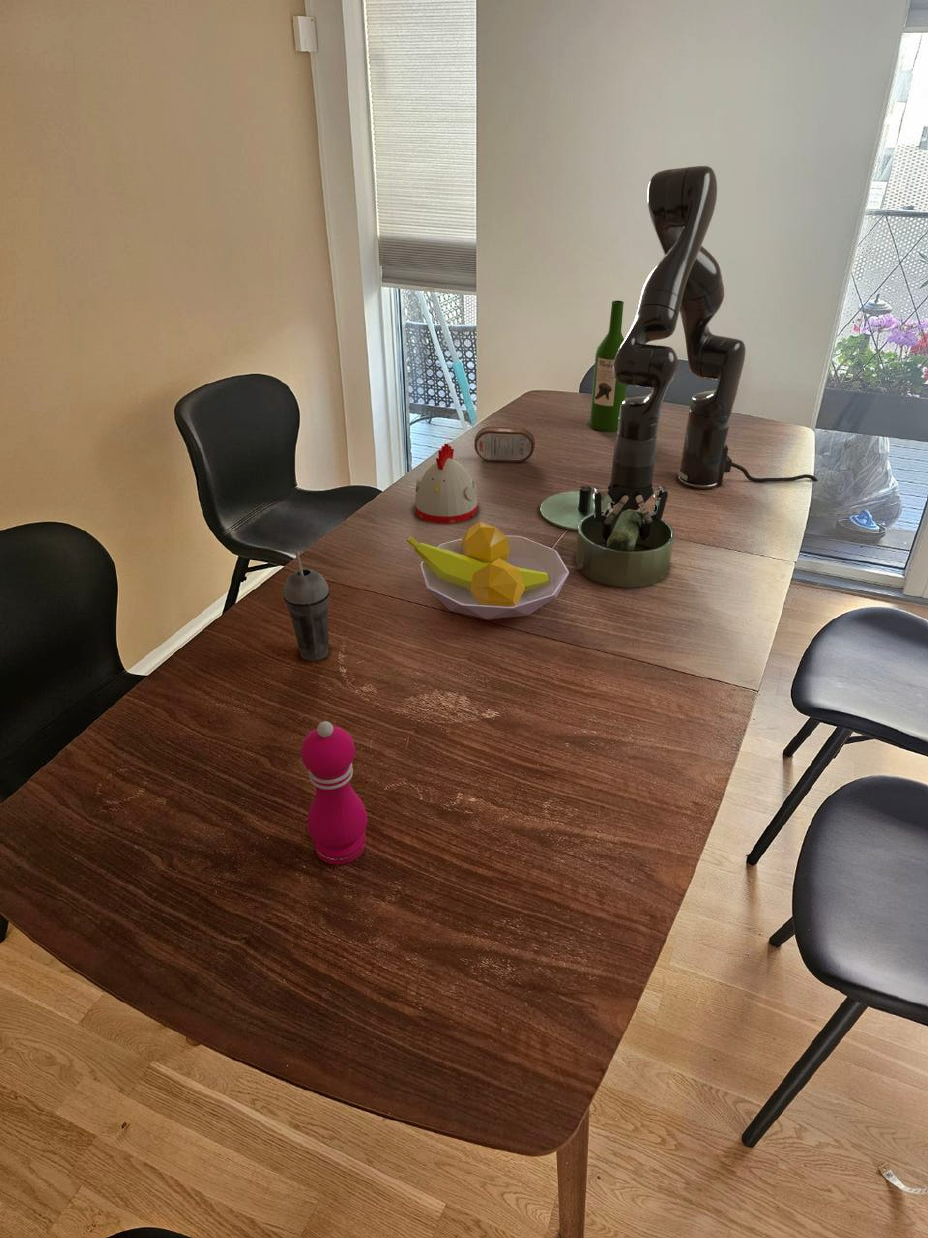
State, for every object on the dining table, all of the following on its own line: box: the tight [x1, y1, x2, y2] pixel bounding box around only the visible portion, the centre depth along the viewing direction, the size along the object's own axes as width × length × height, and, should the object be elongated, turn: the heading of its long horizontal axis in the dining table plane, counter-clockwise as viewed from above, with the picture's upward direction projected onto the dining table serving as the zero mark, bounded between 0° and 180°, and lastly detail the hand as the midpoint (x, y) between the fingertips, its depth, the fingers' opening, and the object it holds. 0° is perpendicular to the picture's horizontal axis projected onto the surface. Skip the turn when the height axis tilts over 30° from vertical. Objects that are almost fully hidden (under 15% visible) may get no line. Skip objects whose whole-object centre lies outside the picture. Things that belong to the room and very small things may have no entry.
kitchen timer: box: [414, 443, 479, 524], centre depth 174 cm, size 14×14×15 cm
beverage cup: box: [283, 549, 331, 662], centre depth 128 cm, size 7×7×20 cm
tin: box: [473, 426, 536, 463], centre depth 199 cm, size 15×3×8 cm, turn 84°
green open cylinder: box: [575, 510, 675, 589], centre depth 156 cm, size 18×18×8 cm
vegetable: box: [606, 509, 641, 552], centre depth 154 cm, size 14×5×5 cm, turn 161°
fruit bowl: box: [406, 521, 570, 620], centre depth 146 cm, size 28×27×11 cm
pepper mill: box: [300, 720, 369, 866], centre depth 94 cm, size 7×7×20 cm
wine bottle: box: [589, 300, 628, 432], centre depth 212 cm, size 9×9×32 cm
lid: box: [539, 485, 611, 532], centre depth 174 cm, size 19×19×6 cm
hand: (624, 538), depth 155 cm, fingers closed on vegetable, 6 cm apart
